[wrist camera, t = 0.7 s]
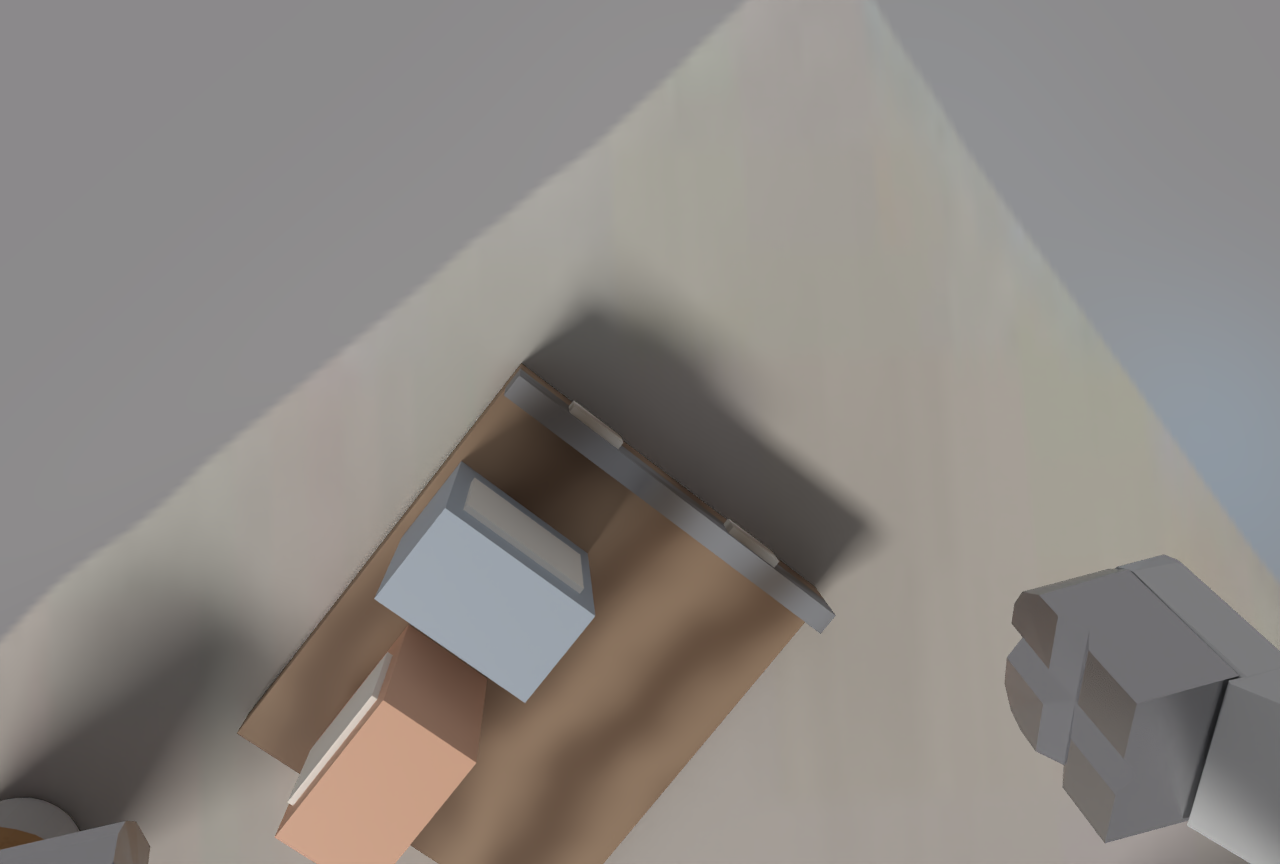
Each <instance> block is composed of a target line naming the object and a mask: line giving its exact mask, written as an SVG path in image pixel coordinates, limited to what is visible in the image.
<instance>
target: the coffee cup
mask: <svg viewBox="0 0 1280 864" xmlns="http://www.w3.org/2000/svg"><path fill="white" fill-rule="evenodd" d="M75 832H79V829H78V827H77V825H76V824H75V823H74V821H73V820H72V819H71V817H70V816H69V815H68V814H66V813H65V812H64V811H63V810H61V809H60V808H59V807H57V806H55V805H53V804H51V803H49V802H47V801H44V800H39V799H35V798H13V799H6V800H2V801H0V850H1V849H6V848H10V847H14V846H19V845H23V844H27V843H32V842H36V841H40V840H45V839H49V838H54V837H58V836H62V835H67V834H71V833H75Z"/></svg>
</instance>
